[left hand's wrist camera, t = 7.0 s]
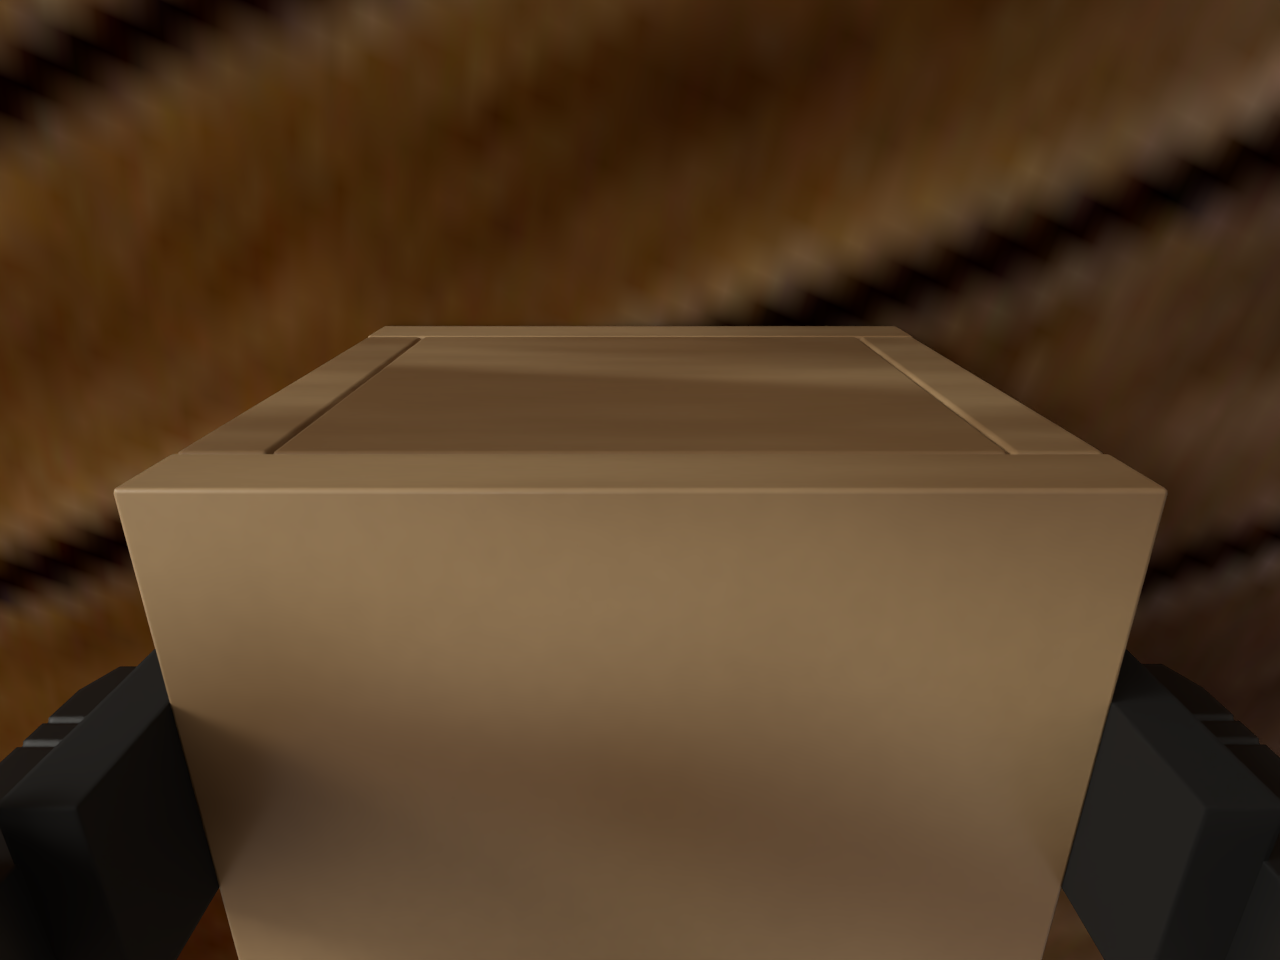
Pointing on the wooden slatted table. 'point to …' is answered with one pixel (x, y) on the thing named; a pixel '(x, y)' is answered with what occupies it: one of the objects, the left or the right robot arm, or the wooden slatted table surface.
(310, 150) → the wooden slatted table surface
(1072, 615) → the cabinet
